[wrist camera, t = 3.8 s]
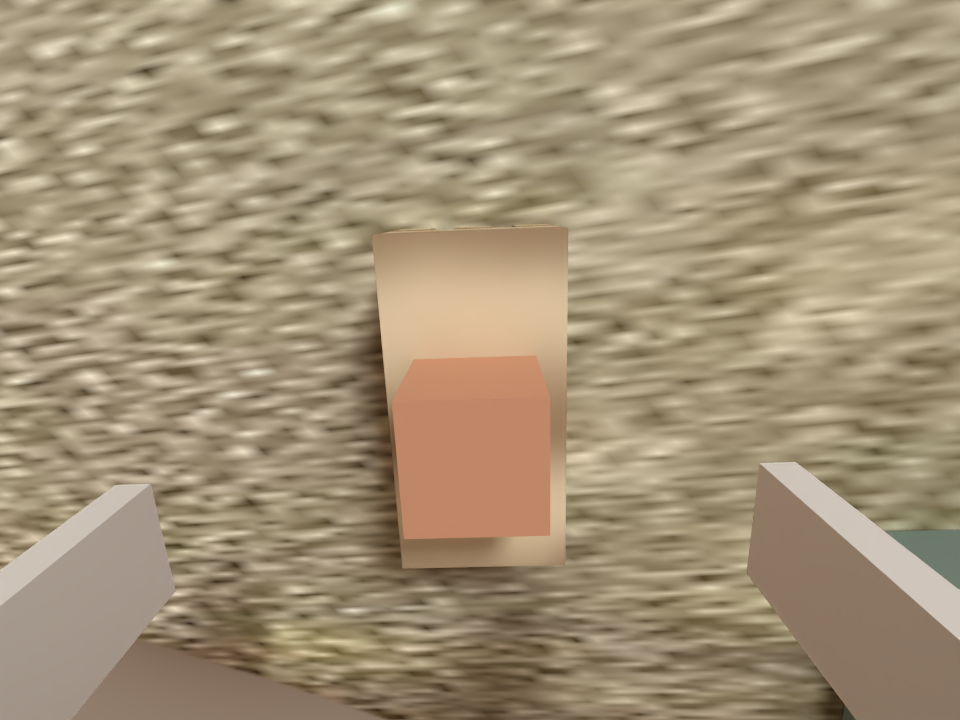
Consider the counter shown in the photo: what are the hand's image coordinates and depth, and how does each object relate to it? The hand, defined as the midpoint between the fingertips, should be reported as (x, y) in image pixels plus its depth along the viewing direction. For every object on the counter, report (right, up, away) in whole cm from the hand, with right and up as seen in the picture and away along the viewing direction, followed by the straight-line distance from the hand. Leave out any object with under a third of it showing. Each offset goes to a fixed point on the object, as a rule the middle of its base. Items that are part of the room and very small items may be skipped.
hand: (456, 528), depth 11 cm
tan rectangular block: (0, +3, +12) cm, 12 cm away
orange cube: (0, +2, +6) cm, 6 cm away
